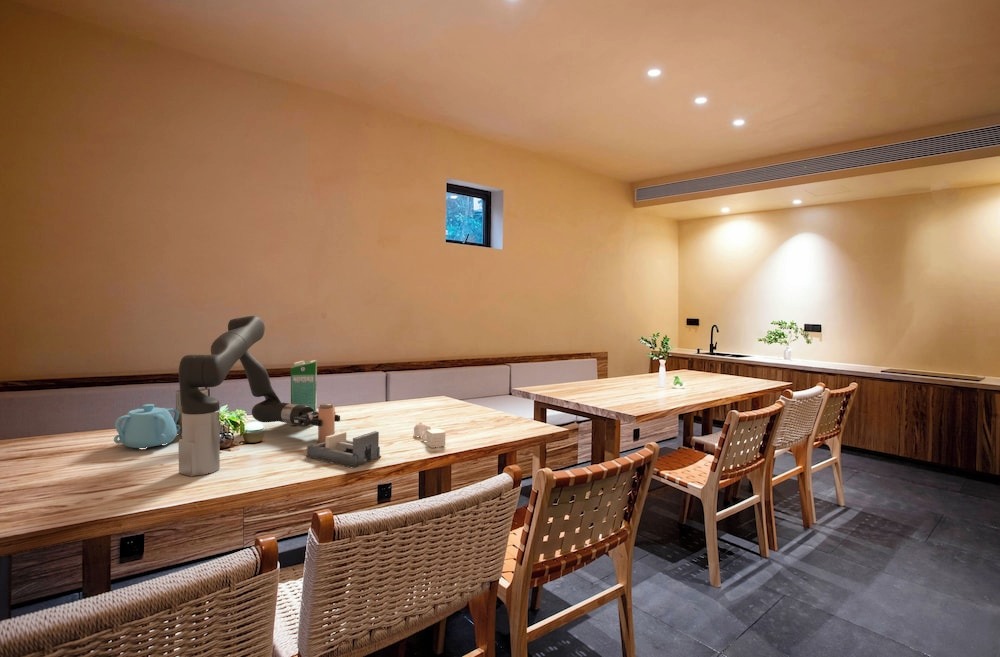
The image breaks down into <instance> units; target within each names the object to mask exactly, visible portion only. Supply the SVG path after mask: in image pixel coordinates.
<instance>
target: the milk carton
mask: <svg viewBox="0 0 1000 657" xmlns="http://www.w3.org/2000/svg"><path fill="white" fill-rule="evenodd" d="M317 372H318V360H317V359H313V360H308V361H306V362H305V360H300V361H295V362H294V363H293V365H292V366H291V368H290V404H299V405H306V406H310V407H312V409H313V410H314V411H318V407H317V406H318V405H317V404H318V403H317V399H318V397H317V393H318V392H317V391H318V390H317V388H318V387H317V385H318V384H317V383H318V381H317V379H318V376H317V375H318V373H317ZM290 426H291V427H293V426H292V425H291V424H290Z"/></svg>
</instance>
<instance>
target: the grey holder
mask: <svg viewBox="0 0 1000 657" xmlns="http://www.w3.org/2000/svg"><path fill="white" fill-rule="evenodd" d="M379 433H380V432H379V431H376V430H375V431H370V432H367V433H364V434H362V435H359V436H356V437H352V441H351V440H348V439H346V443H350V444H353V449H349V448H346V451H343V452H342V451H338V450H333V449H328V448H325V445H326V442H323V443H319V442H318V443H316V444H308V445H307V449H306V450H307V454H306V455H305V458H308V457H309V458H310V459H314V460H318V461H322V462H326V463H331V464H334V465H338V466H339V465H340V466H342V465H344V466H343V467H347V466H348V467H347V468H351V467H352V469H355V468H357V467H360V466H362V465H365V464H366V465H367V464H368V463H370V462H373V461H375V460H377V459H380V458H382V456H381V455H380V454H381V452H380V451H381V448H380V447H381V446H380V445H379V443H380V442H379V438H380V437H379V435H380V434H379ZM365 447H366V450H365Z"/></svg>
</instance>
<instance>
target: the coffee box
mask: <svg viewBox="0 0 1000 657" xmlns="http://www.w3.org/2000/svg"><path fill="white" fill-rule="evenodd" d="M198 388H199V390H200V391H201V392H202V393H203V394H205V395H207V396H209V397H211V388H207V387H198ZM174 398H175V409H176V410H177V411H178V412H179V418H178V421H177V423H176V424H178V425H180V430H179V431H178V432H177V434H181V435H180V436H182V407H181V402H180V389H179V390H175V396H174ZM176 429H177V426H176Z"/></svg>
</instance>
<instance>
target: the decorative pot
mask: <svg viewBox="0 0 1000 657" xmlns="http://www.w3.org/2000/svg"><path fill="white" fill-rule="evenodd" d="M141 407H142V408H136V409H133V410H129V411H128V412H127V414H126V415H122V416H119V417H118V418H117V419H116V420H115V423H114V427H115V430H116V432H117V434H116V435H115V436H114V438H113V442H114V443H116V444H123V446H125V447H127V448H133V449H138V448H146V447H148V448H151V447H157V446H160V445H162V444H166V443H168V444H169V443H172V442H173V441H174V440H175V439H176V436H178V435H177V432H178V431H179V430H180V425H178V424H176V423H177V421H178V418H179V412H178V411H177V410H176V408H172V407H170V408H165V407H155V404H153V403H147V404H142V406H141ZM170 412H174V417H173V416H172V414H171V413H170ZM121 422H122V423H121ZM176 426H177V429H176ZM118 439H119V440H118Z"/></svg>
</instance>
